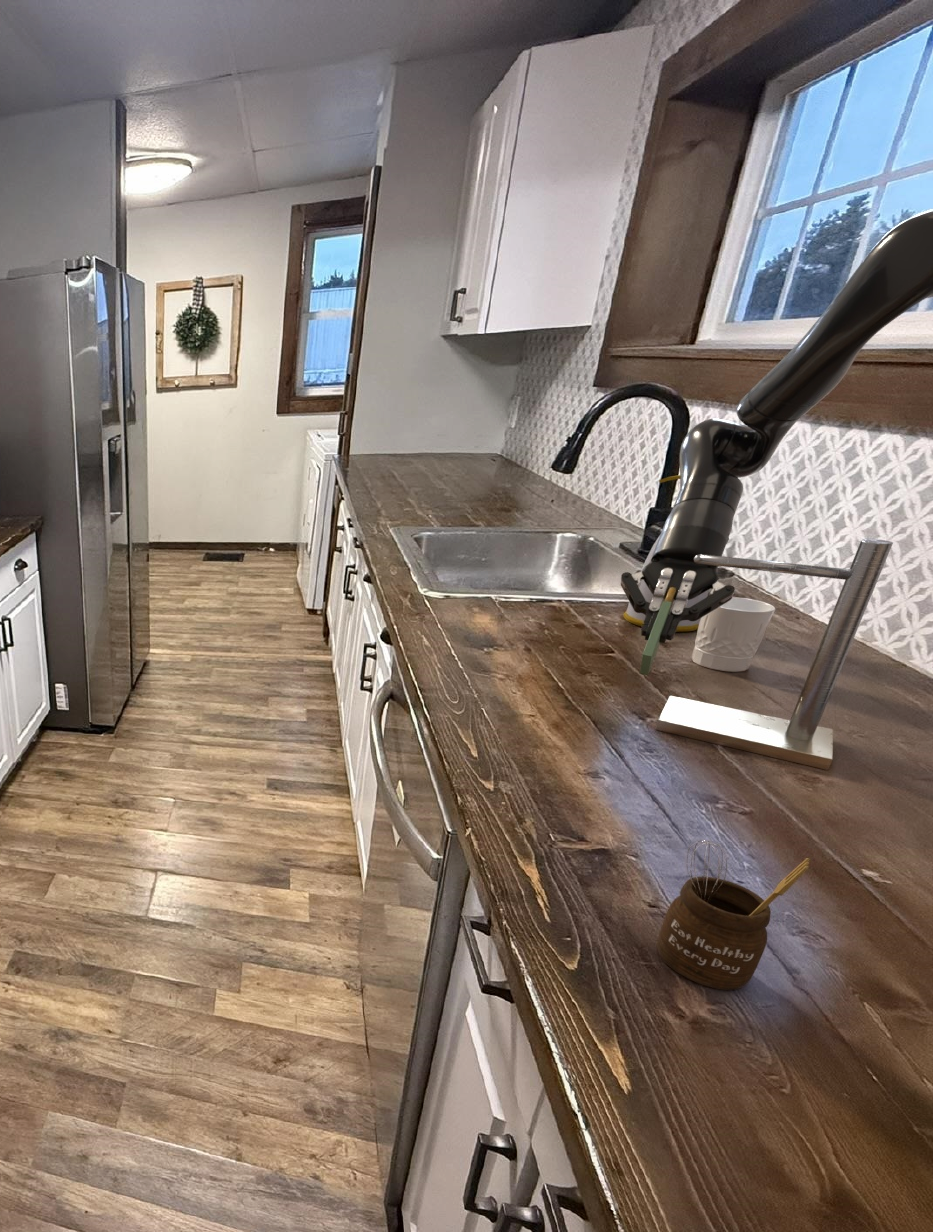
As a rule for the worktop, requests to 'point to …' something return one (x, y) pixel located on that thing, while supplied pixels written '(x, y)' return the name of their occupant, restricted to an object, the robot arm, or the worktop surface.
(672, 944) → the utensil holder
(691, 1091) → the worktop surface
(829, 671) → the stand
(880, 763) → the worktop surface
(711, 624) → the white cup
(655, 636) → the green spatula stick
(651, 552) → the soap bottle
